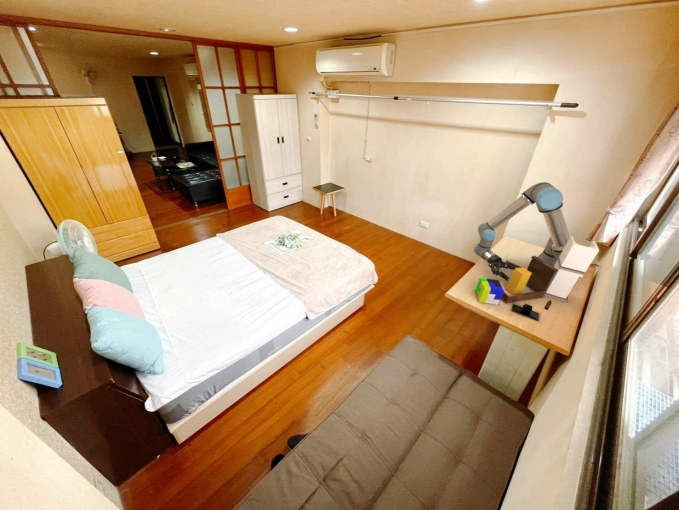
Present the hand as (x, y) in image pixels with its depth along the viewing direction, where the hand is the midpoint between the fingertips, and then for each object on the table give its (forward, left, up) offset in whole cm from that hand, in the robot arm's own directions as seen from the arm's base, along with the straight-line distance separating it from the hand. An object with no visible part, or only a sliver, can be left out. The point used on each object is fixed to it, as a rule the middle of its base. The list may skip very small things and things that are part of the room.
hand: (517, 278), depth 155 cm
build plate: (+8, +18, -9) cm, 22 cm away
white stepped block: (-23, +8, -9) cm, 26 cm away
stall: (0, +2, -9) cm, 9 cm away
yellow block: (0, +1, -9) cm, 9 cm away
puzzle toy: (+21, +3, -9) cm, 23 cm away
